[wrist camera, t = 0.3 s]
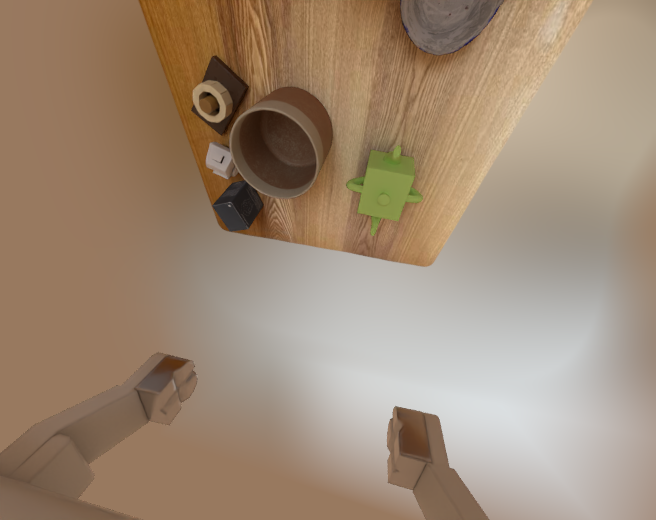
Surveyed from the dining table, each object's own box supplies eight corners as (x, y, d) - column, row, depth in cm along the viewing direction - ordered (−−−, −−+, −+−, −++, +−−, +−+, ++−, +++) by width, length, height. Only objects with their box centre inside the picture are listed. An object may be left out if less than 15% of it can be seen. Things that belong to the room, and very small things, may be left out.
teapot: (375, 212, 64) (371, 239, 57) (340, 171, 58) (331, 196, 51) (433, 177, 55) (439, 205, 48) (399, 125, 49) (399, 147, 42)
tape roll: (207, 71, 48) (198, 74, 46) (238, 99, 50) (231, 104, 48) (196, 100, 52) (187, 104, 50) (225, 124, 54) (218, 130, 52)
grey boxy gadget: (247, 158, 62) (237, 146, 53) (237, 184, 63) (225, 177, 53) (223, 147, 62) (209, 133, 52) (213, 173, 62) (196, 164, 52)
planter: (342, 101, 48) (328, 126, 39) (323, 176, 60) (309, 209, 50) (261, 73, 48) (226, 92, 38) (257, 154, 59) (230, 184, 50)
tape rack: (216, 55, 47) (198, 60, 43) (248, 86, 50) (235, 94, 46) (195, 108, 55) (178, 117, 50) (224, 133, 57) (210, 143, 53)
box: (231, 182, 66) (211, 205, 59) (250, 178, 64) (231, 201, 57) (247, 208, 71) (229, 232, 64) (264, 205, 69) (248, 229, 62)
